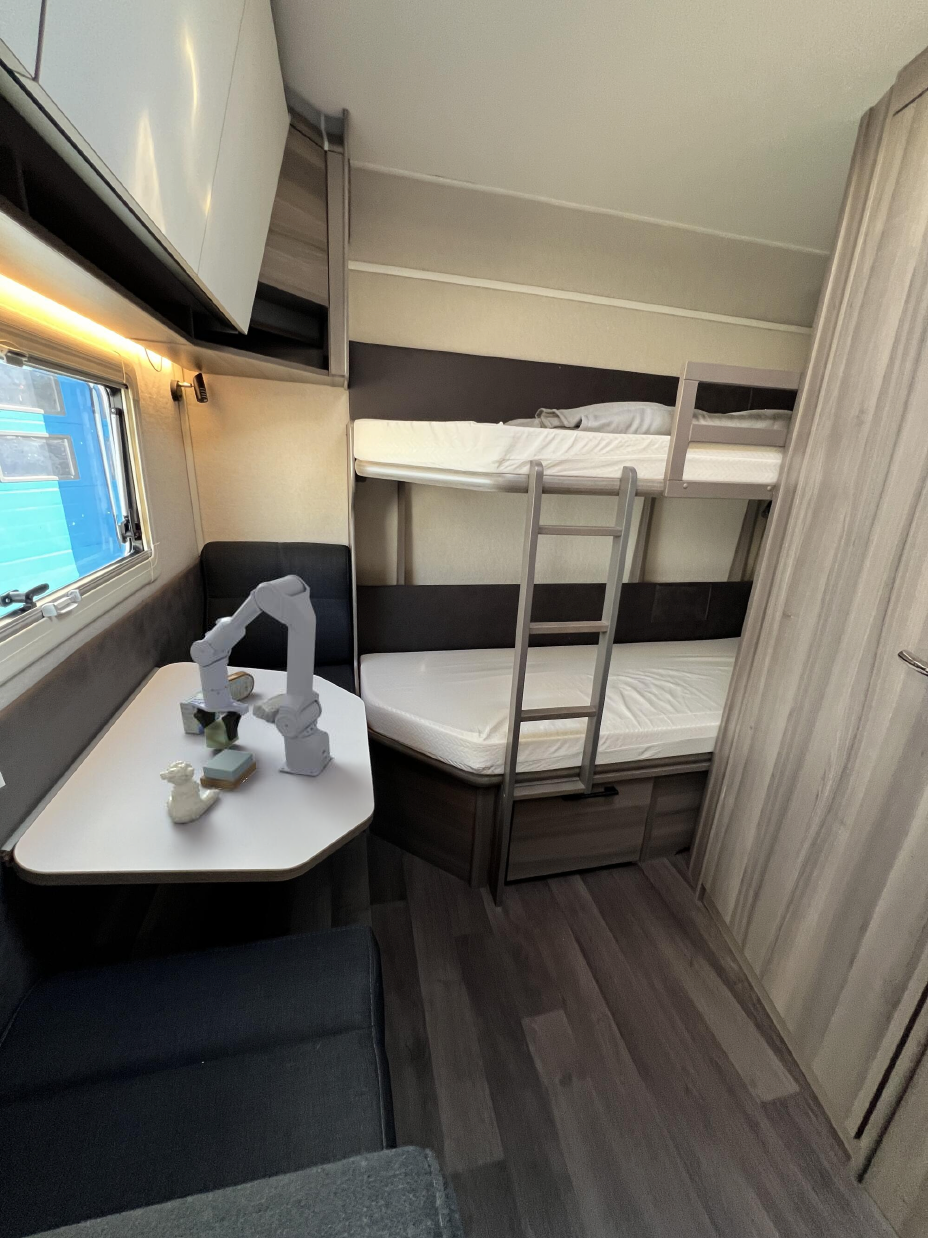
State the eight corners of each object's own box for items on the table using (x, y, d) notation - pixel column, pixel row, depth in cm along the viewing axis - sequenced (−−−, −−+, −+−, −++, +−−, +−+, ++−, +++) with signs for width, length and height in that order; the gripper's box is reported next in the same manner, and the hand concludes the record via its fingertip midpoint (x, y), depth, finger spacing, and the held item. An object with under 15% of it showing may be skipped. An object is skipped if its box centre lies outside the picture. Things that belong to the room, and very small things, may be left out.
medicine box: (198, 734, 119) (194, 704, 117) (183, 732, 120) (179, 702, 118) (220, 720, 127) (216, 691, 124) (205, 718, 127) (201, 689, 125)
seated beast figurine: (221, 795, 97) (214, 744, 94) (212, 823, 89) (204, 769, 86) (169, 802, 95) (161, 750, 91) (155, 831, 87) (145, 776, 83)
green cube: (238, 739, 116) (236, 721, 114) (225, 750, 111) (223, 731, 109) (220, 736, 116) (218, 718, 115) (206, 747, 112) (204, 729, 110)
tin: (250, 691, 144) (247, 666, 142) (257, 694, 143) (255, 668, 140) (205, 711, 131) (201, 684, 128) (213, 714, 130) (209, 686, 127)
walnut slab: (257, 771, 106) (256, 761, 106) (234, 793, 99) (233, 783, 98) (225, 766, 108) (224, 757, 107) (201, 788, 100) (199, 778, 99)
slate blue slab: (253, 763, 105) (252, 753, 105) (233, 781, 99) (232, 771, 98) (226, 758, 106) (224, 749, 106) (204, 776, 100) (202, 766, 99)
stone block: (250, 721, 131) (272, 724, 125) (246, 704, 130) (269, 707, 125) (285, 706, 141) (307, 709, 135) (282, 691, 140) (304, 693, 134)
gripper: (253, 682, 112) (259, 732, 116) (200, 676, 114) (206, 725, 118) (235, 695, 105) (241, 747, 109) (178, 688, 107) (186, 740, 111)
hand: (222, 737), depth 113 cm, fingers closed on green cube, 5 cm apart
